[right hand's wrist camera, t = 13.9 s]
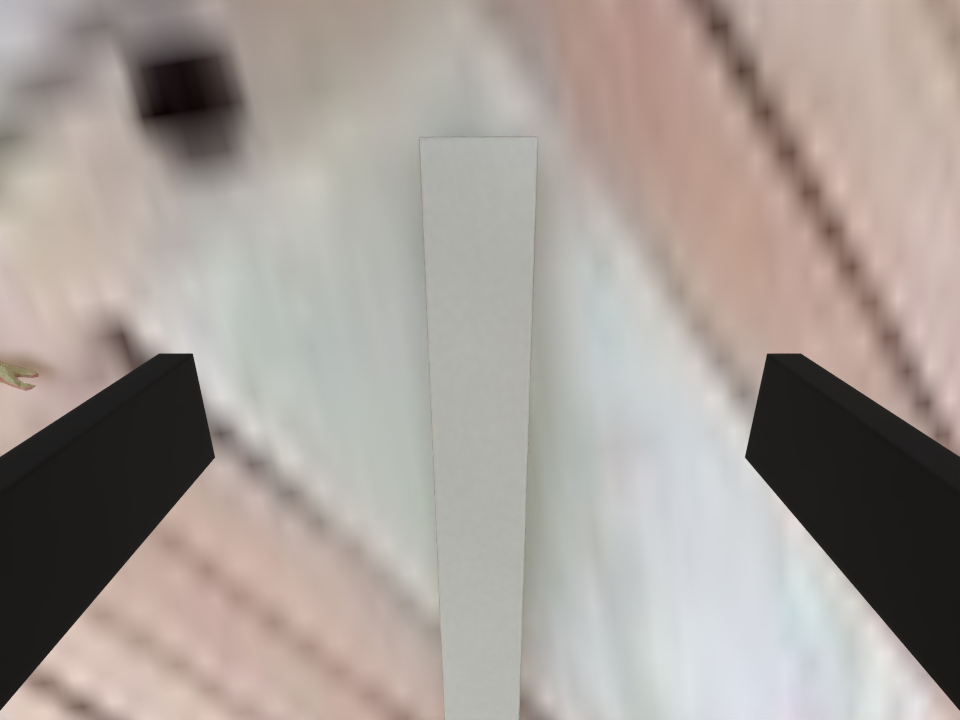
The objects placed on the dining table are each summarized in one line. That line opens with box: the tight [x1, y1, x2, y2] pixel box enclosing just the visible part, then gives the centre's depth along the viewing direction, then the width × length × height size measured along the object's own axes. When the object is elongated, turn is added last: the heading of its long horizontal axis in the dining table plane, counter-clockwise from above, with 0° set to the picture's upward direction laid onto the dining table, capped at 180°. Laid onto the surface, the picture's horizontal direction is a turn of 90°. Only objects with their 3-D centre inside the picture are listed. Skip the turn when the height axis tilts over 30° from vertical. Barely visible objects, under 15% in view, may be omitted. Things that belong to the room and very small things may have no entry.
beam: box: [419, 137, 538, 720], centre depth 40 cm, size 59×6×8 cm, turn 0°
